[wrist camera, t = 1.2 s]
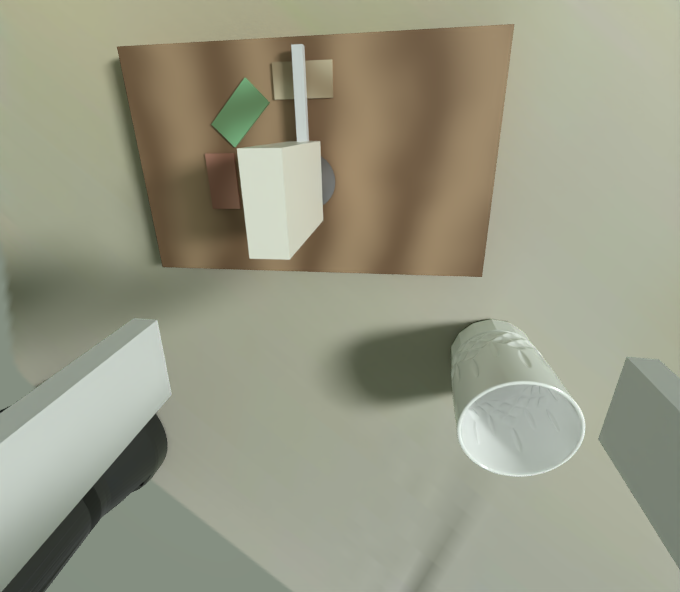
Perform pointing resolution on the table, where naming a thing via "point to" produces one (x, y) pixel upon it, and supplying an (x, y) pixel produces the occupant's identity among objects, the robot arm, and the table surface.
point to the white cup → (511, 402)
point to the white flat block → (283, 183)
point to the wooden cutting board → (327, 144)
